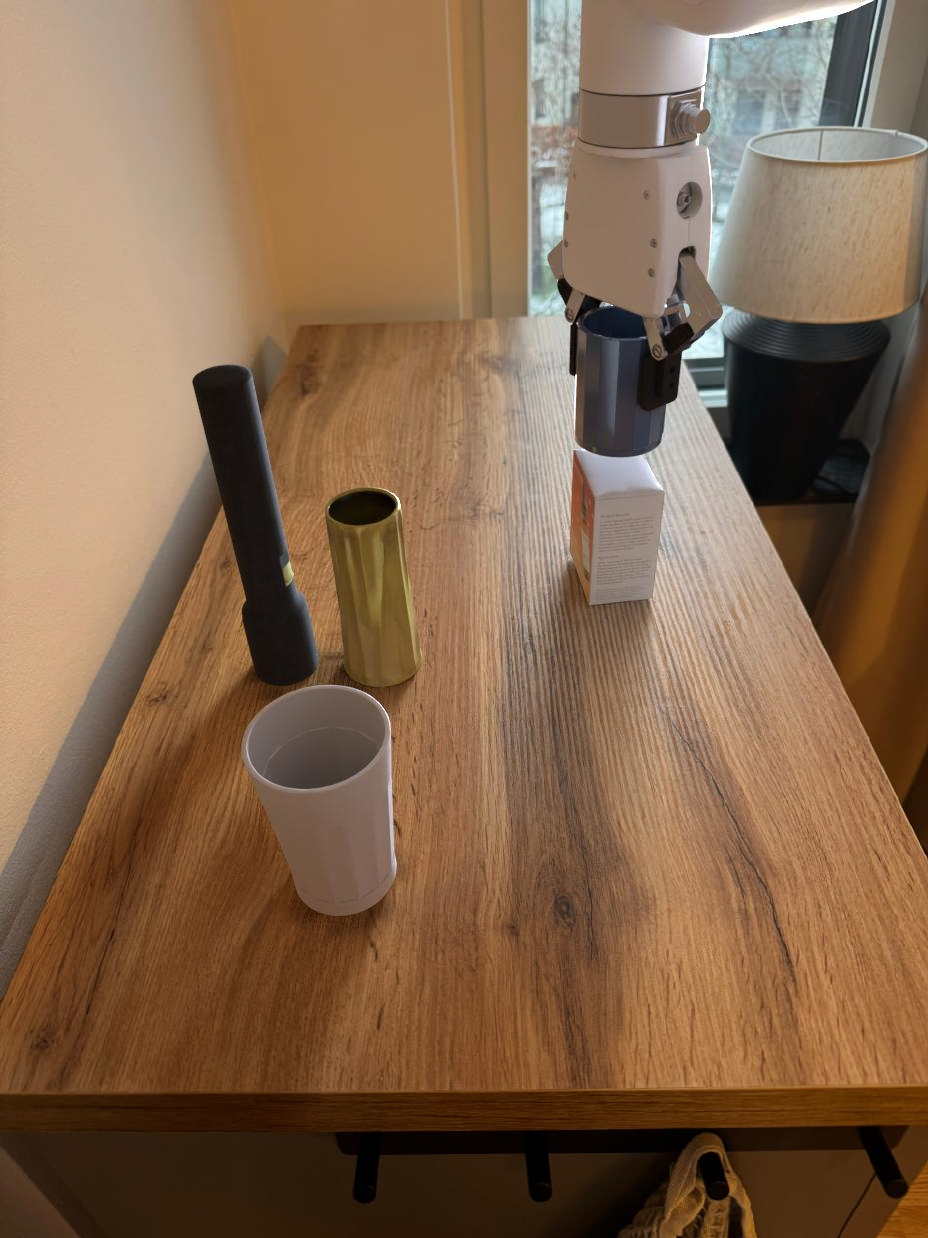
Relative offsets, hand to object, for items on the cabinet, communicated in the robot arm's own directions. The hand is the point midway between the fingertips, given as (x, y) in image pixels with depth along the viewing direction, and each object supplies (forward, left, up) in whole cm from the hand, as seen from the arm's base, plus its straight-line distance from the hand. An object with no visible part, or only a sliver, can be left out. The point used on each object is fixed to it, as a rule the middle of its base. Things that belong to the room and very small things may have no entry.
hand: (621, 385), depth 68 cm
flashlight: (+20, +20, -18) cm, 33 cm away
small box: (0, 0, -18) cm, 18 cm away
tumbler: (0, 0, -4) cm, 4 cm away
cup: (+6, +35, -18) cm, 40 cm away
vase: (+13, +17, -18) cm, 28 cm away
